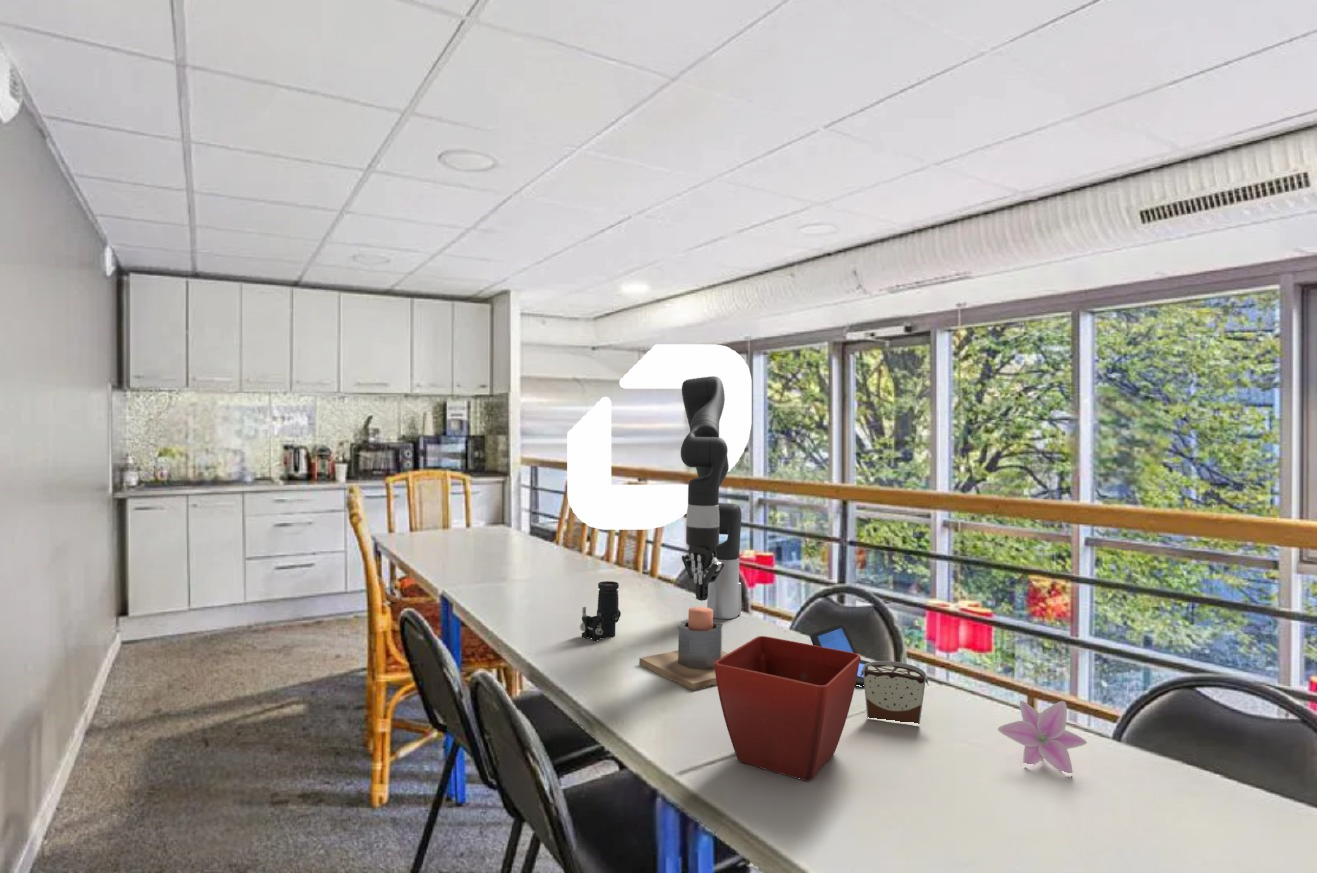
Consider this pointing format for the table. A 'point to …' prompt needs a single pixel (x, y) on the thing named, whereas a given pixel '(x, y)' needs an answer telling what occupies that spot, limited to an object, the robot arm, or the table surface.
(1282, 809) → the table surface
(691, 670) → the walnut board
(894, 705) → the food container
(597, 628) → the scope
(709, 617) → the salmon pink rounded cylinder
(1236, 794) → the table surface
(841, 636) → the handheld game console
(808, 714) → the plant pot
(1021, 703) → the lily
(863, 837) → the table surface
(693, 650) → the grey octagonal cup
